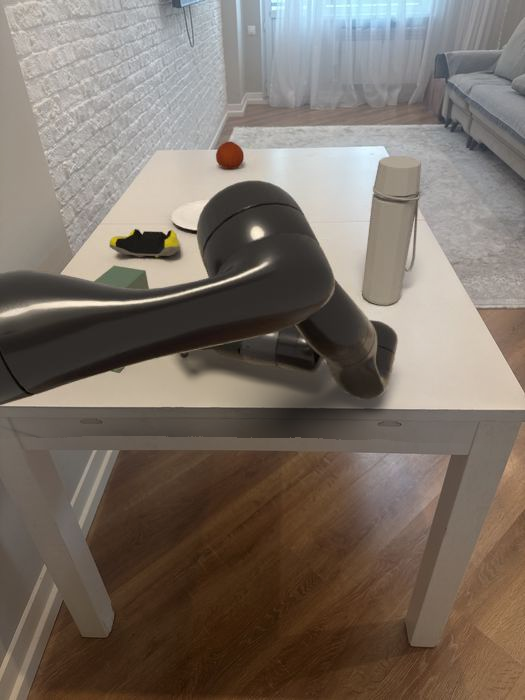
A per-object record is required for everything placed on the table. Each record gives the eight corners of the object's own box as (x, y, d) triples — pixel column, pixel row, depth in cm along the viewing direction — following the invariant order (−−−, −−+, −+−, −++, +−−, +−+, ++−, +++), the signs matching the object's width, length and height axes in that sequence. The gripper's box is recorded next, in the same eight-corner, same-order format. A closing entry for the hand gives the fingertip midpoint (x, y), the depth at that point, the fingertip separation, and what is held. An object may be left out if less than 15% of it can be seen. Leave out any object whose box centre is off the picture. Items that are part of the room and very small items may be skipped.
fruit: (212, 166, 161) (210, 140, 156) (238, 162, 164) (236, 136, 159) (222, 173, 155) (220, 147, 150) (248, 169, 157) (246, 143, 153)
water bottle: (370, 310, 89) (387, 171, 74) (354, 289, 95) (368, 156, 80) (417, 303, 91) (443, 165, 76) (399, 283, 97) (420, 151, 82)
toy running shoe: (177, 266, 106) (188, 245, 113) (173, 242, 102) (185, 223, 110) (110, 263, 107) (126, 244, 115) (105, 240, 104) (121, 221, 112)
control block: (157, 331, 86) (145, 270, 79) (119, 373, 77) (101, 308, 70) (128, 325, 88) (113, 265, 81) (87, 365, 79) (67, 302, 72)
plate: (215, 243, 114) (215, 236, 113) (154, 223, 124) (153, 217, 123) (269, 214, 127) (269, 208, 126) (209, 198, 137) (209, 192, 136)
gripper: (268, 292, 74) (166, 276, 79) (234, 342, 64) (121, 319, 69) (269, 333, 78) (173, 315, 83) (237, 385, 68) (131, 361, 73)
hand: (149, 317), depth 76 cm, fingers closed
